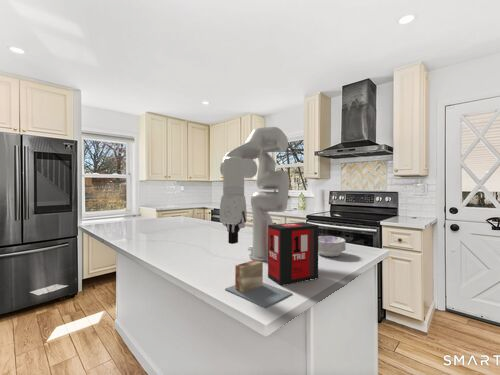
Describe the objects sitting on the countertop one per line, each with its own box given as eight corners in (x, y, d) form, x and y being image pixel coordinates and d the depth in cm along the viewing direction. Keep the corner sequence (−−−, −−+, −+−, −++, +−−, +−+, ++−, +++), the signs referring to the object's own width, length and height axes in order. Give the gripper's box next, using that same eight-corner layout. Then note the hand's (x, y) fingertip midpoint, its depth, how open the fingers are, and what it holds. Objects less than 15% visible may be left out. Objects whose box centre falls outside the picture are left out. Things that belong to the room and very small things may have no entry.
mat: (225, 289, 88) (225, 288, 88) (252, 279, 97) (252, 278, 97) (265, 308, 75) (265, 306, 75) (292, 294, 84) (292, 293, 84)
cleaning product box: (303, 271, 107) (303, 222, 106) (318, 278, 99) (318, 225, 98) (267, 277, 100) (268, 224, 99) (280, 285, 92) (280, 228, 91)
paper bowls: (313, 257, 127) (313, 241, 127) (313, 249, 141) (313, 235, 141) (347, 259, 123) (347, 242, 123) (343, 251, 138) (343, 236, 138)
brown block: (235, 289, 87) (235, 265, 87) (254, 282, 94) (254, 259, 93) (243, 293, 84) (243, 268, 84) (262, 285, 91) (262, 262, 91)
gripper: (212, 191, 97) (212, 241, 97) (240, 192, 86) (239, 248, 86) (228, 191, 102) (227, 238, 102) (256, 192, 91) (255, 244, 91)
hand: (233, 242), depth 94 cm, fingers closed
